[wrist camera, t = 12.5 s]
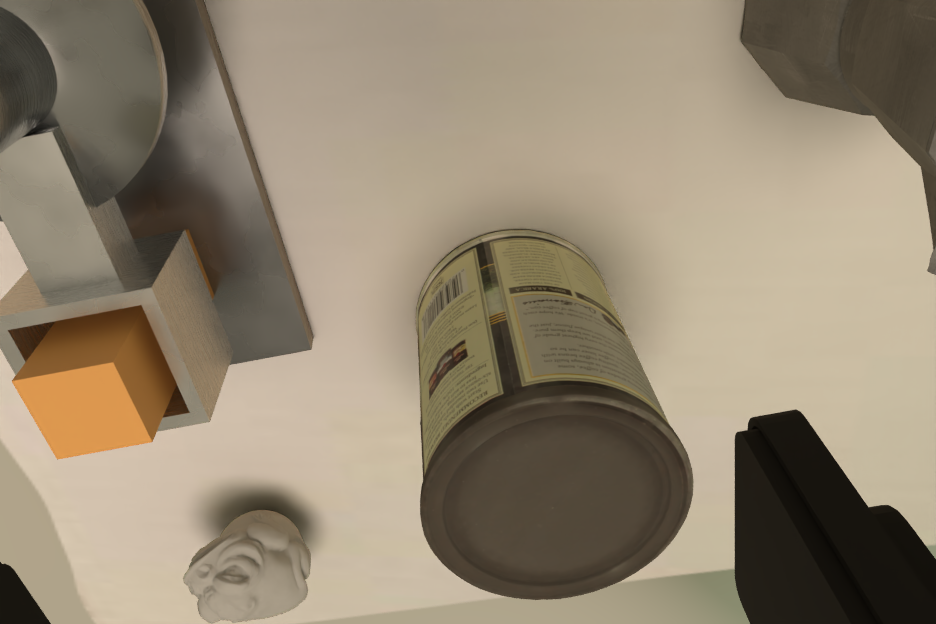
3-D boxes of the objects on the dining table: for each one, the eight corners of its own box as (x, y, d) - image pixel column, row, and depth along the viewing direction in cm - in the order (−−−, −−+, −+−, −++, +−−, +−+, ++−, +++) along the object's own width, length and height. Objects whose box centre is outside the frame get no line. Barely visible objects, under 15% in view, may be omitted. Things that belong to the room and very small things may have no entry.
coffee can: (581, 405, 45) (646, 611, 33) (401, 383, 43) (399, 591, 31) (635, 243, 40) (735, 415, 28) (434, 211, 38) (448, 379, 26)
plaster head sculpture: (234, 464, 45) (208, 558, 39) (338, 512, 48) (329, 608, 42) (185, 529, 48) (153, 627, 42) (287, 572, 50) (272, 670, 44)
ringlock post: (-127, -97, 30) (-931, -13, 12) (152, -155, 30) (-239, -157, 12) (109, 374, 42) (-120, 784, 24) (313, 337, 41) (242, 722, 23)
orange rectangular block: (112, 243, 37) (11, 381, 27) (188, 229, 37) (113, 362, 27) (142, 309, 39) (57, 459, 29) (214, 295, 38) (152, 441, 29)
